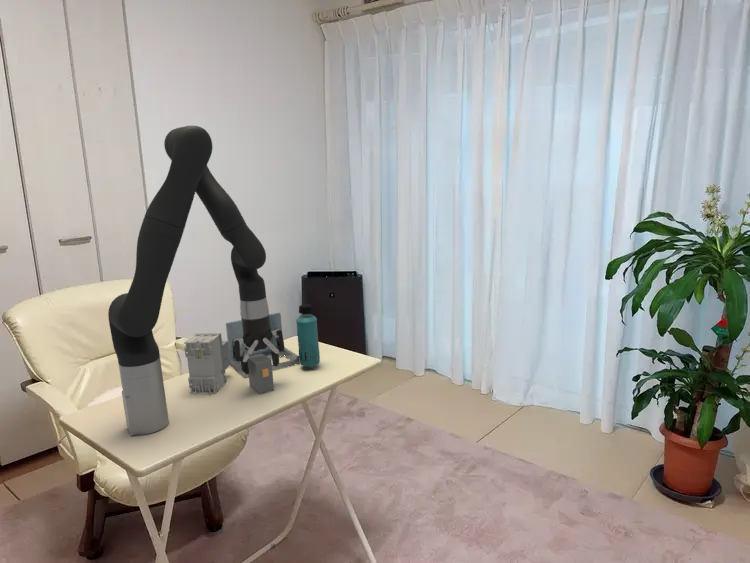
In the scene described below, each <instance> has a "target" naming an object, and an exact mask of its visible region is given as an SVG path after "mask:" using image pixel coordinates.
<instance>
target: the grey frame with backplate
mask: <svg viewBox="0 0 750 563" xmlns="http://www.w3.org/2000/svg"><path fill="white" fill-rule="evenodd" d="M281 314H282V313H281V312H275V313H269V318H270V329H271V331H274V330H275V329H279V330H281V331H282V332H283V327H282V315H281ZM225 329H226V338H227V340H226V341H228V346H229V355H230V365H229V367H230V366H231V367H232V368H233V369H234V370H235V371H236V372H238V374H240V375H241V376H242V377H243V378H245V379H246V378H249V374H245V373H244V372H243V371H242V368H241V361H239V362H237V361H236V360H235V359H234V358H233V346H232V340H233V339H234V338H235V339H241V338H243V328H242V319H239V320H234V321H230V322H225ZM270 342H271V343H272V344H273V345H274V346H275V347H276V346H277V341H276V337H274V335H273V336H272V338H271V340H270ZM245 345H246V344H245V343H244V342H243V343H242V345H241V347H240V356H241V354H242V352H243V349H244V347H245ZM271 353H272V350H271V349H269V348H268V347H266V349H260V350H258V351H253V352H252V354H251V355H250V356H253V355H258V354H263V355H265V356H266V357H268V358H269V359H272V354H271ZM284 355H285V356H286V357H287V358H286V357H285V356H284ZM280 356H284V357H285V358H286V359H288V358H289V359H290V360H289V359H288V360H287V361H283V362H279V364H278V366H276V367H275V366H274V365H273V364H272V372H273V370H274V371H278V370H281V369H284V367H285V368H287V367H288V366H289V367H293V366H296V365H295V364H297V365H301V364H300V361H299V360H300V358H299V354H296V353H294V352H293V351H291V350H290V349H288V348H287V347H285V349H284V350H281V351H280V352H279V357H280ZM280 358H281V357H280ZM292 365H293V366H292ZM280 368H281V369H280ZM277 369H278V370H277Z"/></svg>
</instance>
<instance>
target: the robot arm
mask: <svg viewBox="0 0 750 563" xmlns="http://www.w3.org/2000/svg"><path fill="white" fill-rule="evenodd" d="M163 142H164V144H163V146H164V151H165V154H166V155H167V156H168V158H169V159H170V161H171V163H170V166H169V169H168V172H167V175H166V178H165V180H164V181H163V183H162V185H161V187H160V188H159V189H158V191H157V193H156V194H155V195H154V197H153V199H152V200H151V202H150V204H149V205H148V207H147V209H146V212H145V214H144V217H143V220H142V223H141V225H140V229H139V233H138V236H137V243H136V258H135V259H136V262H135V271H134V276H133V278H132V282H131V285H130V287H129V290H128V292H126V293H122V294H120V295H118V296H117V297H115V298H114V299H113V300H112V301H111V303H110V305H109V308H108V313H107V314H108V324H109V330H110V335H111V340H112V345H113V346H112V347H113V350H114V352H115V355H116V358H117V361H118V370H119V376H120V382H121V383H120V384H121V389H122V391H121V397H122V403H123V410H124V416H125V421H126V422H125V423H126V427H127V430H128V431H129V434H130V436H131V437H132V436H136V435H148V434H153V433H156V432H159V431H161V430H163V429H164V428H166V427H167V426H168V425H169V423H170V420H169V419H170V418H169V413H168V406H167V404H168V403H167V399H166V390H165V382H164V377H163V376H164V375H163V370H162V363H161V361H162V360H161V354H160V349H159V345H158V343H157V342H156V340H155V336H154V333H153V329H154V328H155V327H156V325H157V323H158V320H159V316H160V311H161V307H162V302H163V297H164V293H165V287H166V284H167V281H168V277H169V275H170V272H171V270H172V267H173V263H174V261H175V257H176V255H177V252H178V248H179V247H180V244H181V240H182V238H183V235H184V231H185V228H186V225H187V221H188V218H189V214H190V211H191V208H192V205H193V201H194V197H195V194H196V195H197V196H198V199H200V201H201V202H202V204H203V205H204V207H205V209H206V211H207V213H208V214H209V216H210V217H211V219H212V221H213V223H214V225H215V226H216V229H217V230H218V232H219V234H221V237H222V238H223V239H224V240H226V241H227V242H228V243H230V244H231V246H232V249H231V252H230V261H231V267H232V269H233V273H234V277H235V279H236V281H237V284H238V293H239V295H238V296H239V302H240V303H239V308H240V310H239V311H240V313H239V314H240V318H241V319H240V320H242V328H243V338H241V339H235V338H234V339H233V340H232V346H233V358H234V359H235V360H236V361H237V362H239V361H241V368H242V371H243V372H244V373H245V374H249V367H248V361H247V360H248V358H249V356H250V355H251V354H252V352H253V351H258V350H260V349H266V347H268V348H269V349H271V350H272V353H271V354H272V360H271V361H272V365H274V366H275V367H276V366H278V364H279V363H280V358H279V352H280V351H281V350H284V349H285V348H286V347H285V342H284V335H283V330H282V331H281V330H279V329H275V330H274V331H271V329H270V318H269V314H270V311H269V303H268V299H267V294H266V293H267V292H266V290H267V289H266V283H265V280H264V278H263V277H262V276H261V275H259V272H258V270H259V269H261V268H262V267H264V265H265V263H266V260H267V254H266V249H265V248H264V245H263V244H262V242H261V241H260V239H258V237H257V236H256V234H255V233H254V232H253V231H252V230H251V229H250V228H249V226H248V225H247V223H246V221H245V219H244V217H243V215H242V213H241V211H240V209H239V208H238V206H237V204H236V203H235V201H234V200H233V199H232V197H231V195H229V193H227V191H226V190H225V189H224V188H223V186H222V185H221V184H220V183H219V182H218V181H217V179H216V178H215V176H214V175H213V174H212V172H211V170H210V169H209V167H208V163H209V161H210V160H211V156H212V153H213V140H212V138H211V136H210V133H209V132H208V131H207V130H206V129H205V128H203V127H201V126H199V125H185V126H180V127H175V128H174V129H171V130H170V131H169V132H168V133H167V134H166V136H165V139H164V141H163ZM273 335H274V337H276V341H277V346H276V347H275V346H274V345H273V344H272V343H271V342H270V340H271V338H272V336H273ZM243 342H244V343H245V344H246V345H245V347H244V349H243V352H242V354H241V356H240V347H241V345H242V343H243Z"/></svg>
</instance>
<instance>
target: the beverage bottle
mask: <svg viewBox="0 0 750 563" xmlns="http://www.w3.org/2000/svg"><path fill="white" fill-rule="evenodd" d="M298 313H299V314H301V315H300V316H298V317H297V318H296V334H297V336H296V337H297V341H298V342H297V344H298V345H297V346H298V356H299V359H300V360H299V361H300V364H299V365H301V366H302V367H314V366H315V367H316V366H318V365H319V364H320V362H321V356H320V355H321V354H320V353H321V352H320V342H319V335H318V323H317V322H318V318H317V317H316V316H315V315H313V314H312V313H313V306H312V304H309V303H308V304H307V303H306V304H305V303H304V304H301V305H299V306H298ZM310 313H311V314H310Z"/></svg>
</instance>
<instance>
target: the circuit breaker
mask: <svg viewBox="0 0 750 563" xmlns="http://www.w3.org/2000/svg"><path fill="white" fill-rule="evenodd" d="M183 344H184V345H185V347H184V355H185V358H186V359H187V367H188V375H189V376H188V378H187V380H188V388H189V389H190V392H189V394H195V395H196V394H197V395H198V394H201V395H202V394H206V395H207V394H209V395H211V394H214V395H215V394H217V392H219V391H220V389H222V387H223V386H225V384H226V383H227V375H226V370H227V369H228V368H229V367H230V355H229V346H228V340H222V333H221V332H220V333H219V332H218V333H217V332H216V333H214V332H213V333H195V334H194V335H192V336H191V337H189V338H188V339H186V341H184V342H183Z"/></svg>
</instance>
